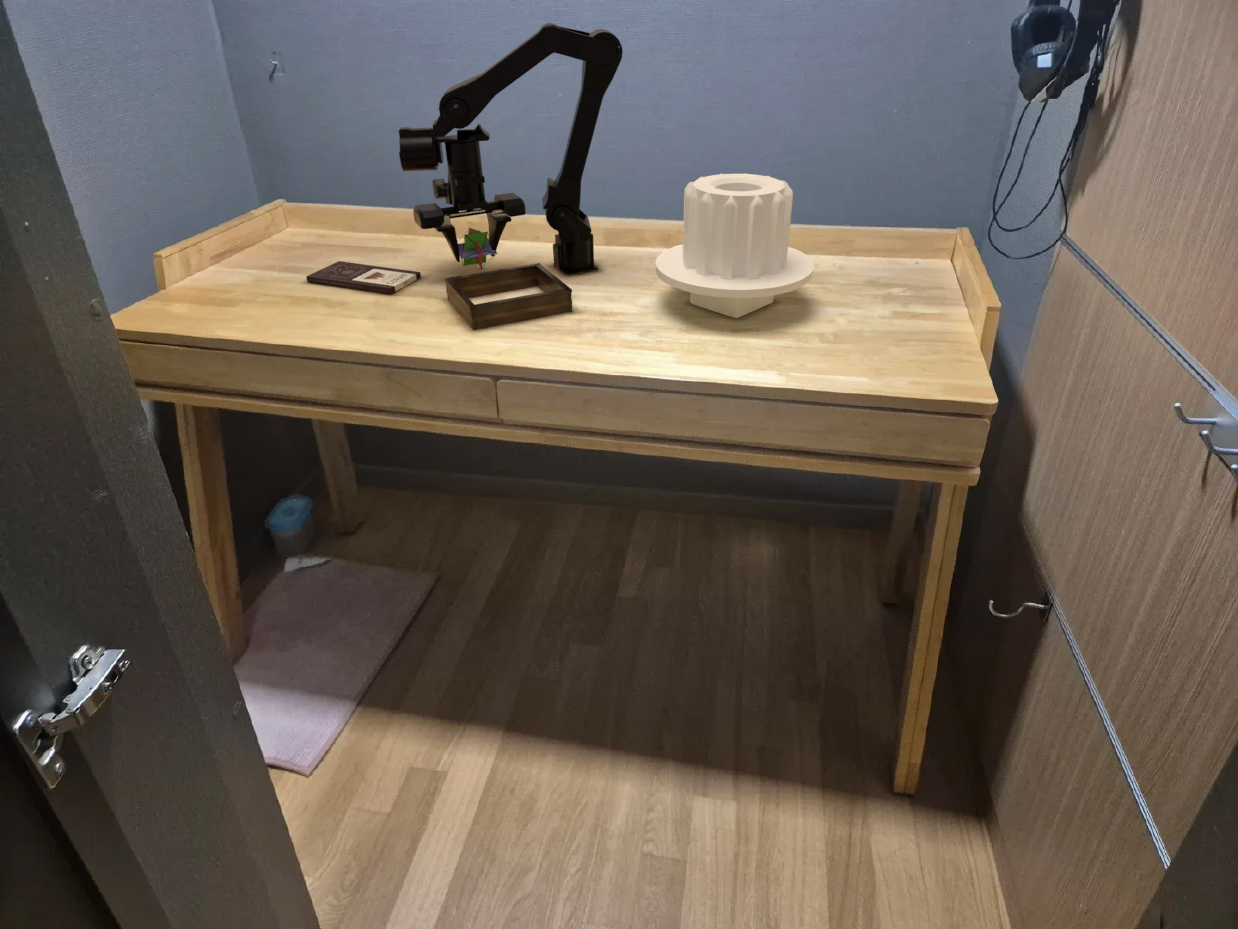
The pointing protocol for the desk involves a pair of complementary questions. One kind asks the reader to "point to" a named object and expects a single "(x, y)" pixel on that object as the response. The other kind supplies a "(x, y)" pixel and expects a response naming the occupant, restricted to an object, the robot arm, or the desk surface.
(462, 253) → the geometric puzzle
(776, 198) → the ribbed cylinder on disc
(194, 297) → the desk surface
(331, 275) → the chocolate bar
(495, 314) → the square wooden frame
